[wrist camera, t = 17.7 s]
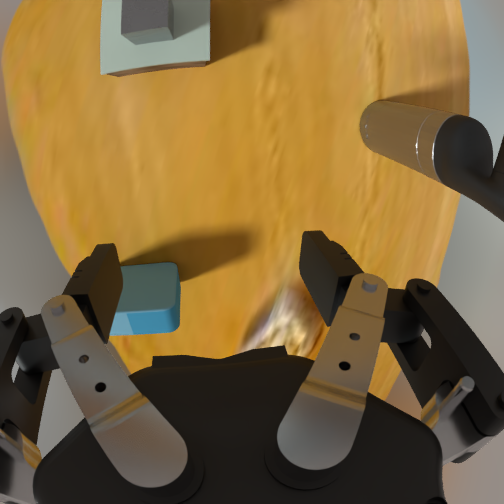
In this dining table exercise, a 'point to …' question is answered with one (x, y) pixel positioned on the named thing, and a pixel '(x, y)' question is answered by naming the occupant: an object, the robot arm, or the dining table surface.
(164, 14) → the block
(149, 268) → the data package
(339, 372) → the robot arm
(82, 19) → the dining table surface
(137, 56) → the box lid
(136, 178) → the dining table surface
